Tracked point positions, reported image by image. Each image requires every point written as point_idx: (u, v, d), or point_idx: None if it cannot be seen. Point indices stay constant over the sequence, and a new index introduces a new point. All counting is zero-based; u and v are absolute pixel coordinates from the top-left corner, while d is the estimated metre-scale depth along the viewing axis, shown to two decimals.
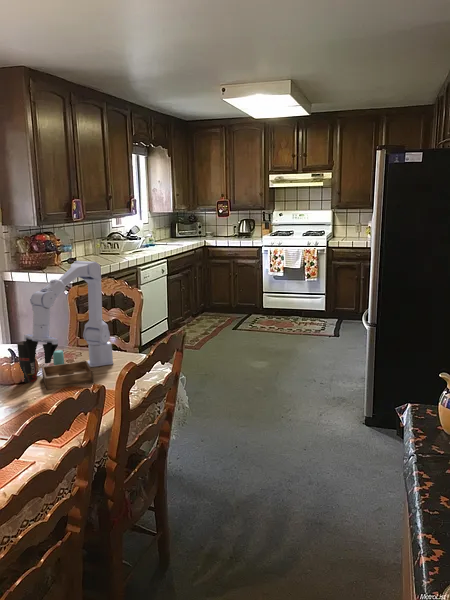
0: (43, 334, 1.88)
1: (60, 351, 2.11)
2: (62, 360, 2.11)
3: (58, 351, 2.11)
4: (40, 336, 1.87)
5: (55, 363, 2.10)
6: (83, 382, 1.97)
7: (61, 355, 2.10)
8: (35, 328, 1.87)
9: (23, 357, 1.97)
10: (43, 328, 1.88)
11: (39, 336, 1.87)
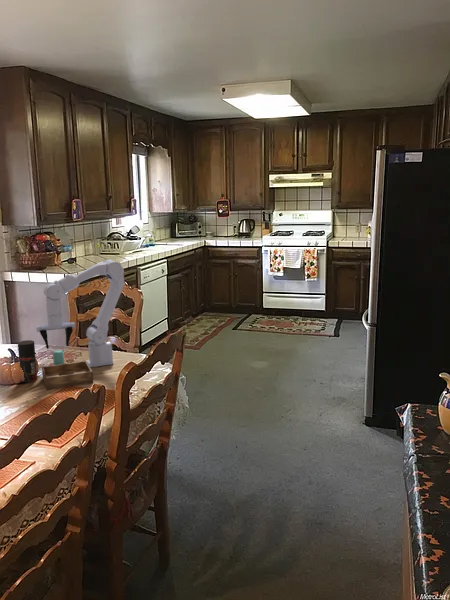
0: (62, 321, 2.08)
1: (60, 351, 2.11)
2: (62, 360, 2.11)
3: (58, 351, 2.11)
4: (61, 324, 2.07)
5: (55, 363, 2.10)
6: (83, 382, 1.97)
7: (61, 355, 2.10)
8: (55, 318, 2.05)
9: (23, 357, 1.98)
10: (61, 316, 2.07)
11: (60, 324, 2.07)
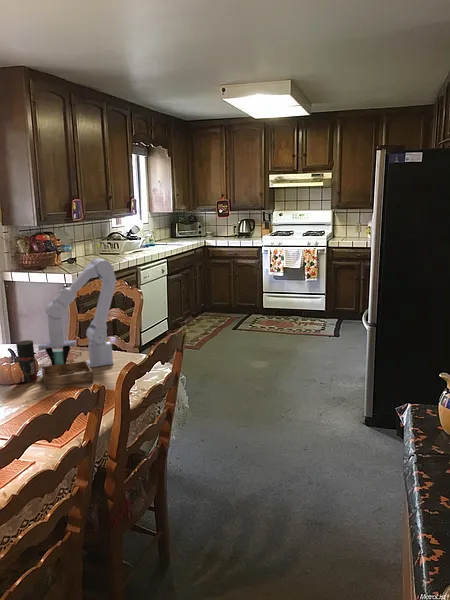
0: None
1: (60, 351, 2.11)
2: (62, 360, 2.11)
3: (58, 351, 2.11)
4: (62, 342, 2.09)
5: (55, 363, 2.10)
6: (83, 382, 1.97)
7: (61, 355, 2.10)
8: (57, 337, 2.07)
9: (22, 357, 1.97)
10: (63, 335, 2.09)
11: (62, 342, 2.08)
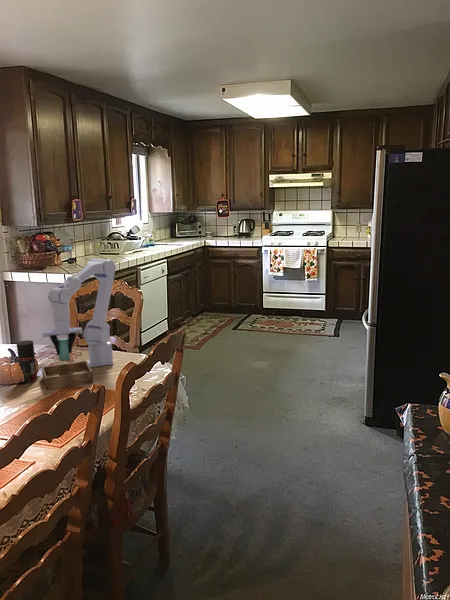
0: (69, 326, 2.00)
1: (65, 339, 2.02)
2: (67, 348, 2.02)
3: (63, 339, 2.02)
4: (68, 329, 1.99)
5: (60, 351, 2.01)
6: (83, 382, 1.97)
7: (66, 343, 2.01)
8: (62, 324, 1.97)
9: (23, 357, 1.97)
10: (68, 321, 2.00)
11: (67, 329, 1.99)
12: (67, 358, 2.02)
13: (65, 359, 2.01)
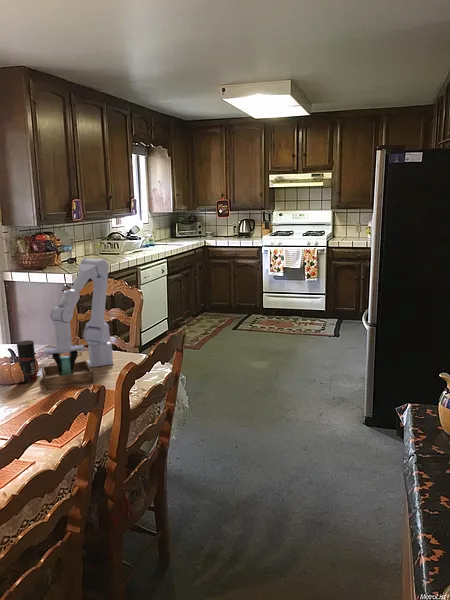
0: (71, 344, 2.01)
1: (67, 357, 2.03)
2: (69, 366, 2.03)
3: (65, 357, 2.03)
4: (70, 347, 2.00)
5: (62, 369, 2.02)
6: (83, 382, 1.97)
7: (68, 361, 2.02)
8: (64, 342, 1.98)
9: (23, 357, 1.97)
10: (70, 339, 2.01)
11: (69, 348, 2.00)
12: None
13: None
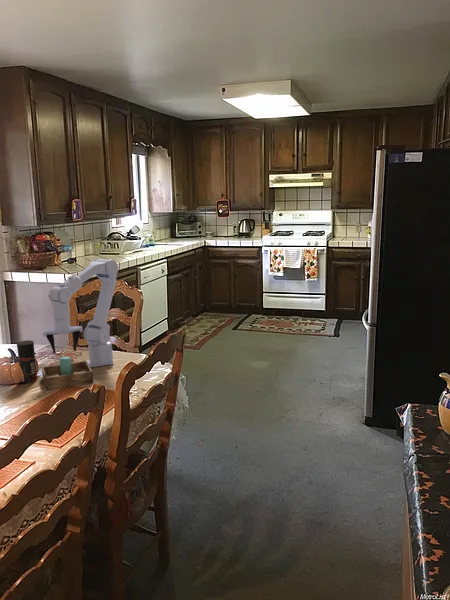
0: (69, 325, 2.02)
1: (67, 357, 2.03)
2: (69, 367, 2.03)
3: (65, 357, 2.03)
4: (68, 328, 2.01)
5: (62, 370, 2.02)
6: (83, 382, 1.97)
7: (68, 362, 2.02)
8: (62, 322, 1.99)
9: (23, 357, 1.97)
10: (69, 320, 2.01)
11: (67, 328, 2.01)
12: None
13: None
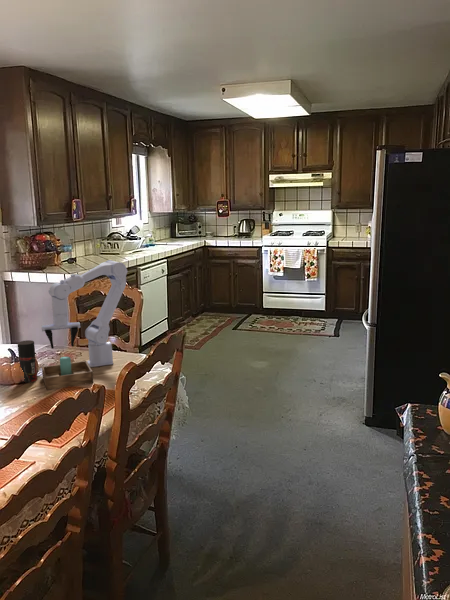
0: (67, 321, 2.07)
1: (67, 357, 2.03)
2: (69, 367, 2.03)
3: (65, 357, 2.03)
4: (66, 323, 2.06)
5: (62, 370, 2.02)
6: (83, 382, 1.97)
7: (68, 362, 2.02)
8: (61, 318, 2.04)
9: (23, 357, 1.98)
10: (67, 316, 2.06)
11: (65, 324, 2.06)
12: None
13: None
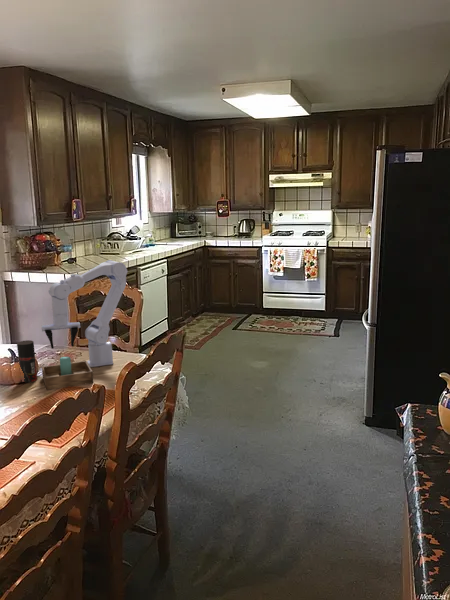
0: (67, 321, 2.07)
1: (67, 357, 2.03)
2: (69, 367, 2.03)
3: (65, 357, 2.03)
4: (66, 323, 2.06)
5: (62, 370, 2.02)
6: (83, 382, 1.97)
7: (68, 362, 2.02)
8: (61, 318, 2.04)
9: (23, 357, 1.97)
10: (67, 316, 2.06)
11: (65, 324, 2.06)
12: None
13: None
